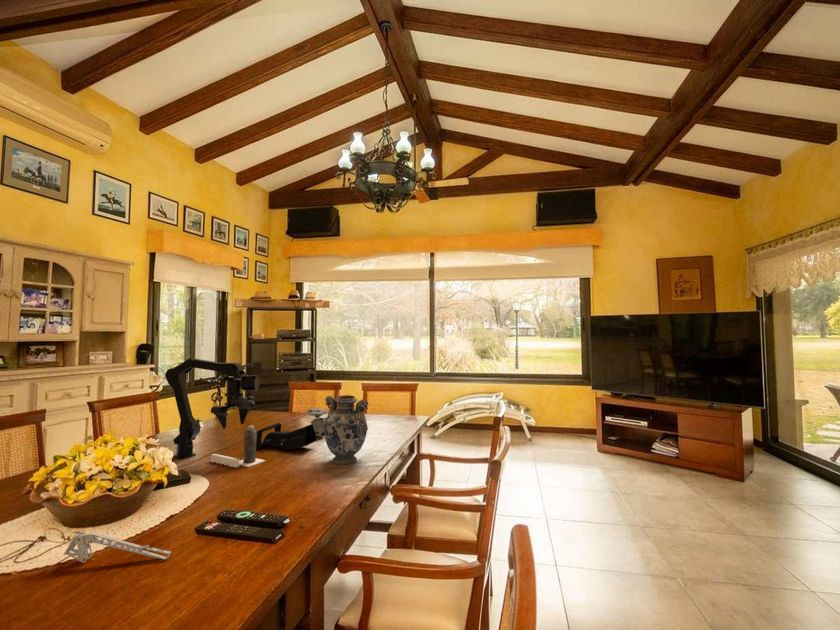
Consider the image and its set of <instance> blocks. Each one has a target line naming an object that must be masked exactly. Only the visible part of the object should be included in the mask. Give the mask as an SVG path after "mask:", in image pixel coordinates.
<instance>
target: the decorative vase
mask: <svg viewBox="0 0 840 630" xmlns="http://www.w3.org/2000/svg"><path fill="white" fill-rule="evenodd" d="M324 400H325V406H327V407H328V410H327V414H326V415H327V416H326V417H327V418H326V420H325V423H324V435H323V436H324V440H325V443H326V446H327V448H328V449H329V452H330V453H331V454H333V455H334V457H333V458H332V460H331V462H332V463H333V462H334V463H333V464H335V463H337V464H336V465H350V464H349V463H352V464H354V463H356V462H357V461H358V458H357V457H356V456H355V455H356V454H358V453H359V452H360V450H361V449H362V447H363V445H364V443H365V440H366V438H367V433H368V430H369V428H368V427H369V426H368V423H367V419H366V414H365V412H364V411H365V410H368V409H369V408H368V405H369V402H368V401H367V400H366V399H361V400H359V401H358V399H357V398H356V396H354V395H350V394H348V395H346V394H345V395H343V394H342V395H338V396H337V397H336V398H335V397H333V396H331V395H329V396H326V397H325V399H324ZM355 403H356V404H355ZM355 461H356V462H355ZM353 462H354V463H353Z"/></svg>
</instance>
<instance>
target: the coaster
mask: <svg viewBox="0 0 840 630" xmlns="http://www.w3.org/2000/svg"><path fill="white" fill-rule="evenodd" d="M264 462H266V460H265V459H261V458H257V457H256V461H255V462H253V463H243V459H241V460H240V459H239V466H241V467H246V468H250V467H253V466H256V465H259V464H262V463H264Z"/></svg>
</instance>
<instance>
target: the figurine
mask: <svg viewBox="0 0 840 630" xmlns="http://www.w3.org/2000/svg"><path fill="white" fill-rule="evenodd" d="M306 412H307V416H308V417H314V419H312V420H311V421H310V425H311V424H313V428H314V431H315V432H316V438H317V439H318V438H321V439H322V438H323V435H322V434H324V423H325V420H326V418H327V416H325V415H328V410H327V409H326V408H319V407H317V408H308V409H307V411H306ZM321 416H322V417H321ZM323 416H324V417H323ZM308 425H309V424H306V426H308Z"/></svg>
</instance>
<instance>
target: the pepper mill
mask: <svg viewBox="0 0 840 630" xmlns="http://www.w3.org/2000/svg"><path fill="white" fill-rule="evenodd" d="M257 431H258V429H255V427H254V425H248V426H247V428H246V429H245V430H244V439H243V456H242V457H243V458H242V460H243V463H253V462H255V461H256V458H257V449H256V436H257Z"/></svg>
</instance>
